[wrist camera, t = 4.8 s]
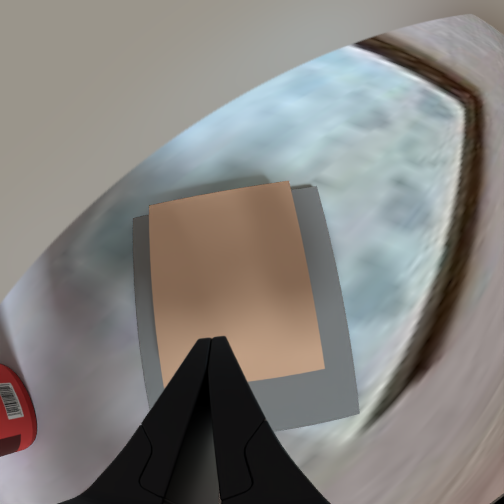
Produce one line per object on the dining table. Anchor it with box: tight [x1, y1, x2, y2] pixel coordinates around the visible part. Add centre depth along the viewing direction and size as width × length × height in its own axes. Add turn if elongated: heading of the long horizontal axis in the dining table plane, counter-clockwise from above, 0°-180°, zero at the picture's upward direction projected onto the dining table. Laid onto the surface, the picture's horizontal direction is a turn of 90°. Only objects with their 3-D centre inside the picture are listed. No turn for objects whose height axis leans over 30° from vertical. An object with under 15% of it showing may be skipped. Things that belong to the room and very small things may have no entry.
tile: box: [149, 181, 325, 388], centre depth 15 cm, size 2×8×10 cm
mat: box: [133, 186, 360, 431], centre depth 16 cm, size 14×12×1 cm
